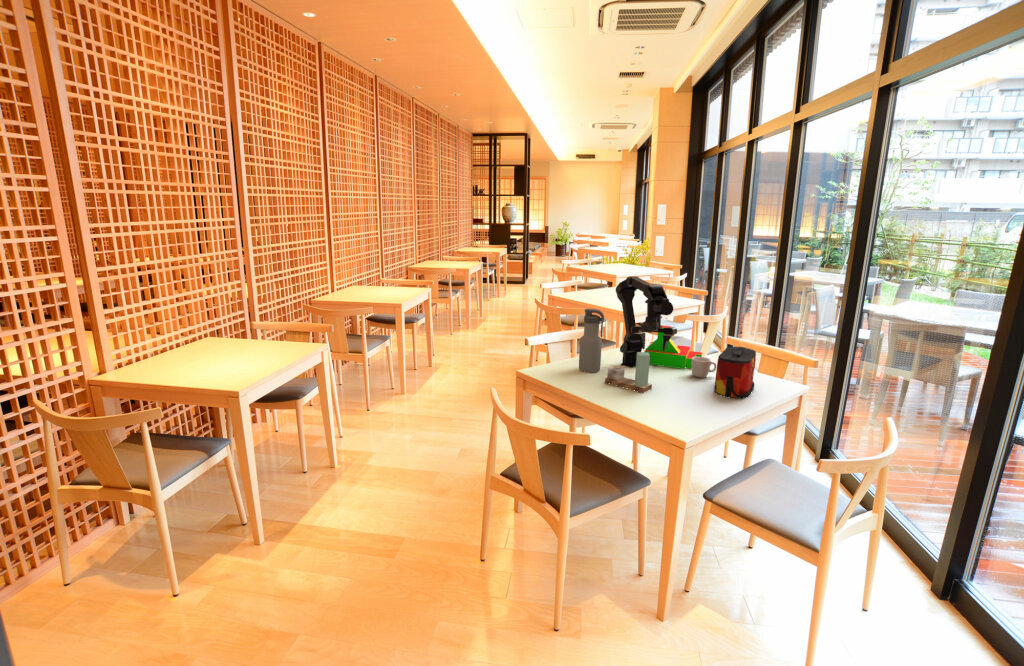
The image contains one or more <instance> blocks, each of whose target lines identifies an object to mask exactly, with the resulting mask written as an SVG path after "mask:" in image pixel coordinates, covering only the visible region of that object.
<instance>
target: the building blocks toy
mask: <svg viewBox="0 0 1024 666" xmlns="http://www.w3.org/2000/svg"><path fill="white" fill-rule="evenodd" d="M661 326H662V328H665V327H672V326H671V325H662V324H661ZM663 335H665V334H664V333H660V332H657V338H656V339H655V340H654V341H651V342H650V343H649V344H648V345H647V347H646V348H645V349H644V351H643V352H648V353H649V355H650V362H649V365H651V364H653V366H658V365H660V366H661V367H668V368H676V369H682V368H683V370H685V369H686V368H687V369H692V357H703V352H701V351H693V350H691V346H689V345H688V346H687V345H680V344H679V345H677V344H675V342H674V341H673V340H672V339H671V338H670V340H669V342H668V344H667V346H666V349H665V351H663ZM660 366H659V367H660ZM685 367H686V368H685Z"/></svg>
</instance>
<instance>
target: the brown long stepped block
mask: <svg viewBox="0 0 1024 666" xmlns="http://www.w3.org/2000/svg"><path fill="white" fill-rule="evenodd" d="M606 375H607V377H606V378H604V383H605V382H606V383H605V384H607V383H610V384H609V385H611V384H613V385H612V386H614V385H617V386H616V387H618V386H621V387H620V388H622V387H624V388H623V389H626V388H628V389H627V390H629V389H631V391H633V390H635V391H634V392H637V391H638V393H641V392H642V394H644V392H645V393H647V392H648V390H649V391H650V390H652V389H653V384H652V383H648V387H647V386H636V384H635V379H632V378H628V377H625V369H624V368H620V367H617V366H612V367H609V368H607V374H606ZM646 391H647V392H646Z"/></svg>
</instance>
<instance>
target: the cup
mask: <svg viewBox="0 0 1024 666" xmlns="http://www.w3.org/2000/svg"><path fill="white" fill-rule="evenodd" d="M712 365H713V369H711V366H712ZM716 369H717V363H716V362H715V361H713V360H711V359H710V358H708V357H705V356H702V357H692V368H691V375H692V376H693V377H695V378H700V379H702V378H706V377H707V376H708V374H709V373H714V372H716Z"/></svg>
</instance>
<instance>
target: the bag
mask: <svg viewBox="0 0 1024 666" xmlns="http://www.w3.org/2000/svg"><path fill="white" fill-rule="evenodd" d="M756 356H757V351H755V350H754V349H753V348H747V347H744V346H729V347H725V349H724V350H723V351H722V352H721V353H720V354H719V355H718V357H717V363H716V370H715V378H714V379H715V381H714V389H713V390H714V393H715V394H716V393H717V394H716V395H718V396H720V395H721V396H720V397H723V396H725V397H724V398H727V397H730V398H729V399H746V397H747V398H749V397H750V396H749V395H751V394H752V393H753V391H754V388H755V381H754V373H755V368H756V358H757V357H756ZM752 386H753V387H752ZM751 392H752V393H751ZM748 396H749V397H748Z"/></svg>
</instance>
